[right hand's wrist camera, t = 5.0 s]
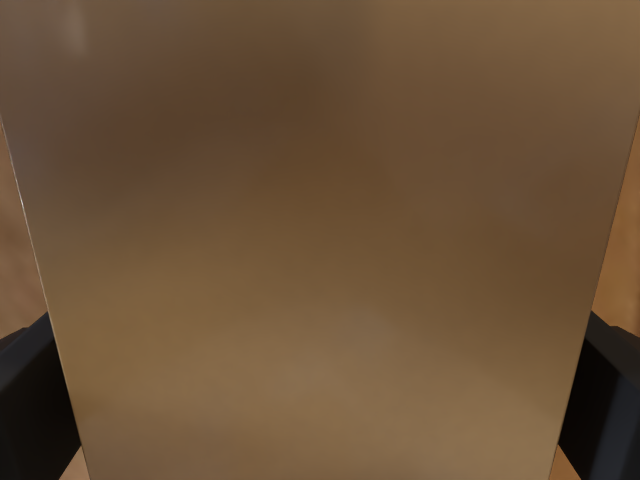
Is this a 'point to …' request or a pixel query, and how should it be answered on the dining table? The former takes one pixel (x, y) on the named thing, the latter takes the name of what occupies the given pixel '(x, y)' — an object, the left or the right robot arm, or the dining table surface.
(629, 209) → the dining table surface
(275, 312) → the wide beam
